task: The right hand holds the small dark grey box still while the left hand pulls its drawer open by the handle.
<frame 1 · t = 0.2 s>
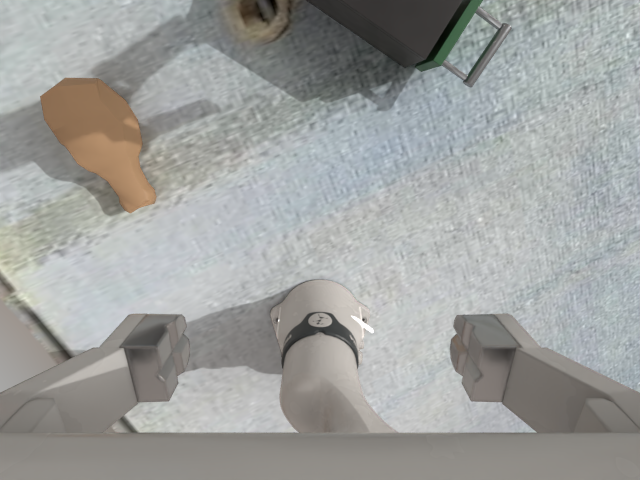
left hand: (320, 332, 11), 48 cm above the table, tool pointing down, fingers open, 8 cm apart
squash: (123, 145, 55), on the table
drawer: (412, 6, 44), point 5 cm above the table, slide at 1.0 cm
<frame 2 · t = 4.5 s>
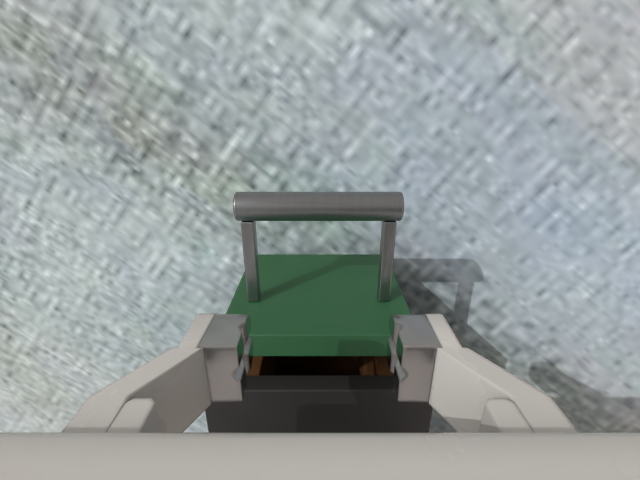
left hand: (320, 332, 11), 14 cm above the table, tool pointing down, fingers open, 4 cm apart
dark grey box: (319, 381, 29), on the table, touching right hand
drawer: (318, 374, 22), point 5 cm above the table, slide at 1.0 cm
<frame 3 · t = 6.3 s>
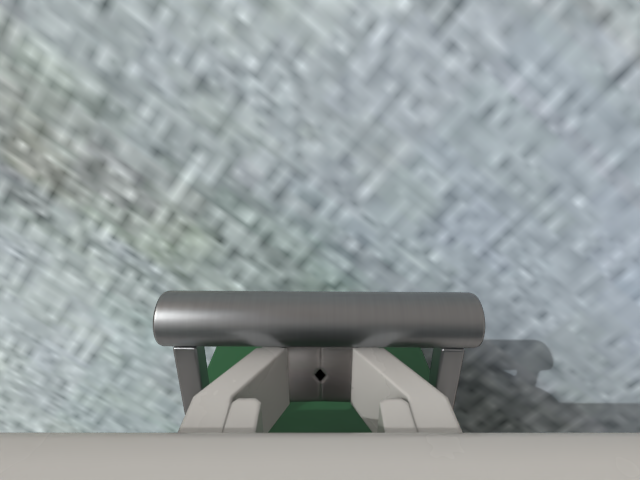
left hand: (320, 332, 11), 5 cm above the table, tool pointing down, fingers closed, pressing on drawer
when the right hand's fingers open (6 cm above the table, at t = 9.3 s): dark grey box stays where it is, on the table.
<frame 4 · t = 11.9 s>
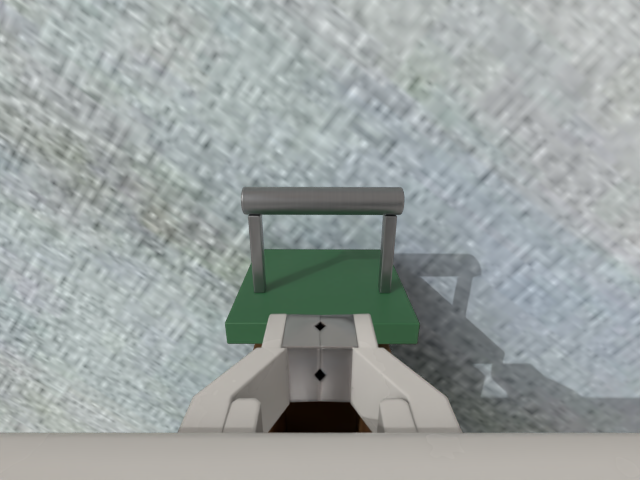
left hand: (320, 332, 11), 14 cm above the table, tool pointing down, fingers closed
drawer: (321, 365, 22), point 5 cm above the table, slide at 7.1 cm
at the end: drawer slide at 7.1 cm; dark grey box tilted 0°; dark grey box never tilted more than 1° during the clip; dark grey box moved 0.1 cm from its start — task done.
